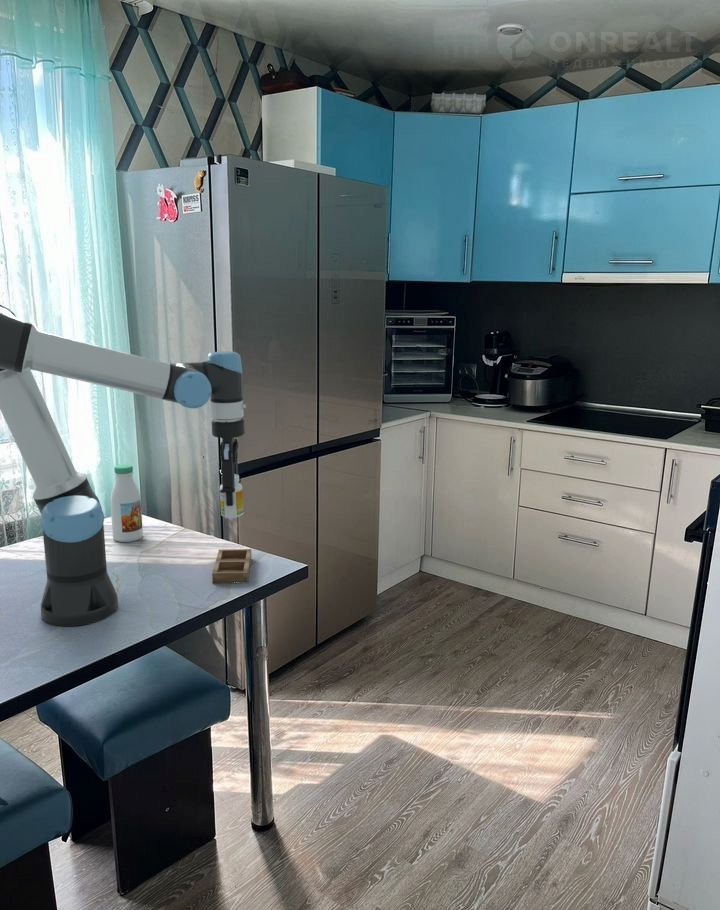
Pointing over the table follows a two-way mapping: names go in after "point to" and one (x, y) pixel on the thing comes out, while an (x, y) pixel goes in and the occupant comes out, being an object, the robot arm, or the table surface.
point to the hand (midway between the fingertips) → (232, 513)
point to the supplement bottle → (238, 497)
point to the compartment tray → (232, 566)
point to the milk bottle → (125, 506)
